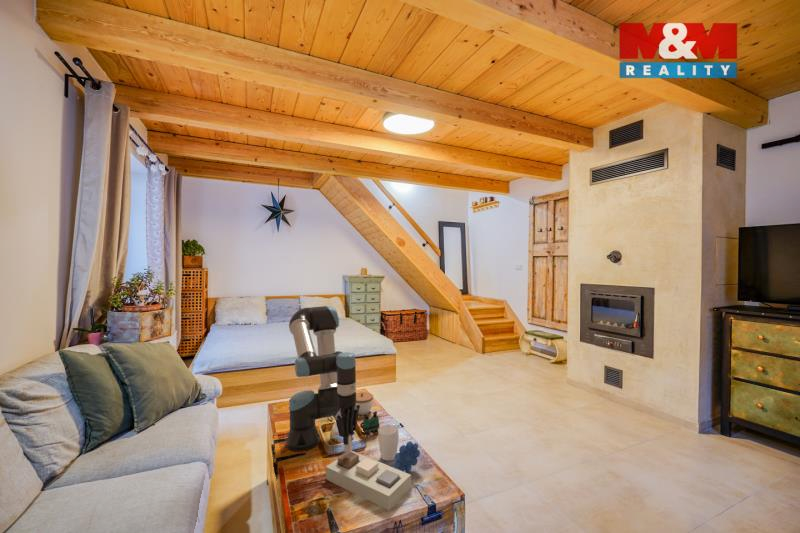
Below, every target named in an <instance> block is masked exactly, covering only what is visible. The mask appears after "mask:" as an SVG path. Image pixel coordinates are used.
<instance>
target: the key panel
mask: <svg viewBox="0 0 800 533" xmlns="http://www.w3.org/2000/svg"><path fill="white" fill-rule="evenodd" d="M351 452H353V453H355V454H358V455H359V463H360V462H362V461H363V460H364V459H366V458H367V459H370V460H372V461H375V462H377V463H378V471H377V472H376V473H375V474H374V475H372V476H371V477H370V478H369V479H368V478H366V477H364V476H362V475H359V474H357V473H356V465H358V464H359V463H357V464H356V465H355V466H353V467H352V468H350V469H349V470H348V469H346V468H344V467H341V466H339V465H338V458H337V459H335V460H334V461H331V463H329V464H328V465H326V466H325V480H326V481H329V482H331V483H333V484H335V485H337V486H338V487H341V488H343V489H345V490H347V491H349V492H350V493H353V494H355V495H357V496H359V497H361V498H363V499H365V500H367V501H369V502H371V503H373V504H375V505H377V506H379V507H381V508H383V509H385V510H387V511H391V510H392V508H393V507H395V505H396V504H397V503H398V502H399V501H400V500H401V499H402V498H404V496H405V495H406V494H407V493H408V492H409V491H410V490H411V489H412V475H411V474H410V473H409V472H406V471H404V472H403V471H400V470H398V469H395V467H394V466H390V465H388V464H385V463H383V462H380V461H378V460H375V459H373V458H371V457H369V456H366V455H363V454H360V453H358V452H356V451H354V450H352V451H351ZM385 470H389V471H391V472H394V473H396V474H399V477H400V480H399V481H398V482H397V483H395V484H394V485H393V486H392V487H391V488H388V487H386V486H384V485H382V484H379V483H377V477H378V476H379V475H381V474H382V473H383V472H384V471H385Z"/></svg>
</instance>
